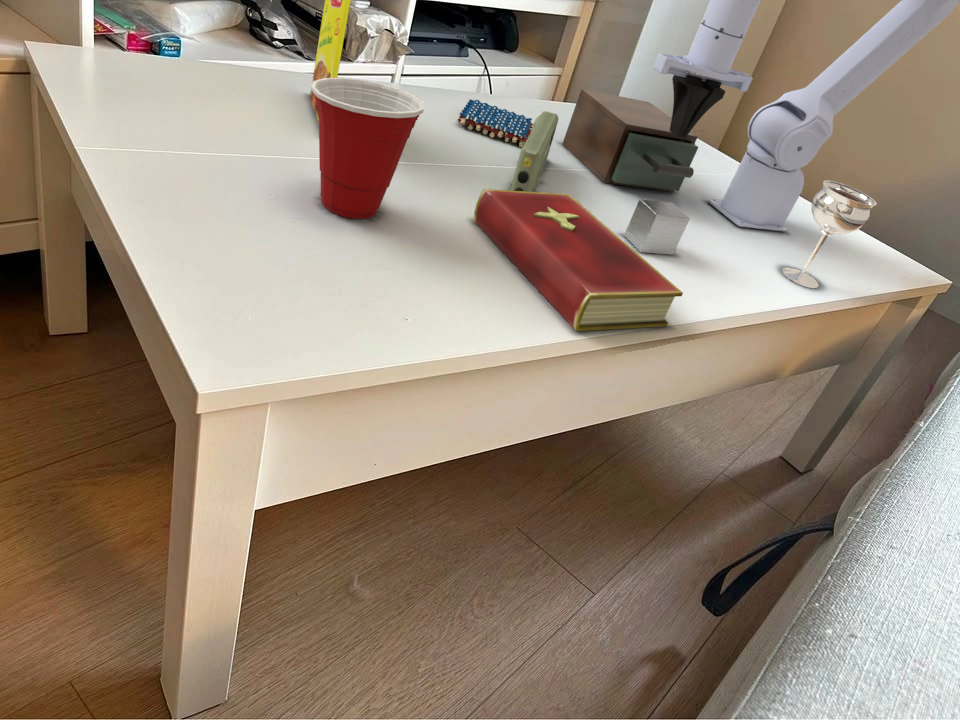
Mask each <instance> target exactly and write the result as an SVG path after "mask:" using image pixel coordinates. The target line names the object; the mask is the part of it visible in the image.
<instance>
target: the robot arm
mask: <svg viewBox="0 0 960 720" xmlns="http://www.w3.org/2000/svg"><path fill="white" fill-rule="evenodd" d="M761 1H762V0H709V2H708V5H707V7H706V9H705V12H704V14H703V17H702V19H701V21H700V23H699V26H698V29H697V31H696V33H695V35H694V38H693V41H692V43H691V44H690V48H689V50H688V53H687V54H685V55H684V56H683V55H674V54H666V53H661V52H659V53H657V57H656V58H655V61H654V64H653V66H652V69H654V70H655V71H657V72H658V73H659V74H663V75H667V74H668V75H673V76H672V78H671V80H672V88H673V105H672V113H671V118H672V120H671V125H670V131H671V132H672V133H674V134H675V135H676V136H680V137H681V136H682V137H686V136H687V135H688V134H689V132H692V130H693V129H694V127H695V126H696V125H697V123H698V122H699V121H700V120H701V118H702V117H703V116H704V115H705V114H706V113H707V112H708V111H709V110H710V109H711V108H712V107H713V106H715V105H716V104H717V103H718V102H720V101H721V100H723V98H724V96H725V94H726V90H725V89H723V88H722V86H724V87H728V88H732V89H737V90H739V91H740V92H745V93H746V92H747V91H748V90H749V87H750V85H751V83H752V81H753V79H754V78H753V76H751V75H749V74H747V73H745V72H743V71H739V70H736V69H732V66H733V64H734V61H735V58H736V57H737V54H738V52H739V50H740V48H741V46H742V44H743V41H744V40H745V37H746V35H747V33H748V30H749V28H750V25H751V23H752V21H753V19H754V17H755V15H756V12H757V10H758V8H759V6H760V3H761ZM959 1H960V0H900V1H899V2H898V3H897V4H896V5H895V6H894V7H893V8H891V9H890V10H889V11H888V12H887V13H886V14H884V16H882V17H881V19H880V20H878V21H877V22H876V23H875V24H874V25H873V26H872V27H870V29H869V30H867V31H866V32H865V33H864V34H863V35H862V36H861V37H859V39H857V40H856V41H855V42H854V43H853V44H852V45H851V46H849V48H847V49H846V51H844V52H843V53H842V54H841V55H840V56H838V58H836V59H835V60H834V61H833V62H832V63H831V64H830V65H829V66H827V68H825V69H824V70H823V71H822V72H820V73H819V74H818V76H817V77H815V79H813V80H812V81H811V82H810V83H808V85H806V86H805V87H803V88H800V89H795V90H791V91H788V92H784V93H783V94H782V96H780V97H779V98H778V99H776V100H775V101H773V102H770V103H768V104H765V105H763V106H762V107H760V108H759V109H757V110H756V111H755V113H753V115H752V117H751V118H750V119H749V122H748V125H747V137H748V139H749V141H748V143H747V146H746V148H747V149H746V150H745V153H744V155H743V157H742V159H741V161H740V163H739V165H738V167H737V170H735V173H734V176H733V178H732V180H731V182H730V184H729V186H728V188H727V190H726V192H725V194H724V195H723V197H722V199H717V198H709V199H707V202H708V203H709V204H710V205H711V206H712V207H714V208H715V209H716V210H717V211H718V212H720V213H721V214H722V215H724V216H725V217H726V218H727V219H728V220H730V221H731V222H732V223H734V224H735V225H736V226H738V227H741V228H748V229H749V228H751V229H759V230H767V231H777V232H778V231H779V232H786V230H787V228H786V226H784V225H785V223H786V221H787V219H788V217H789V216H790V214H791V212H792V210H793V209H794V207H795V205H796V203H797V201H798V199H799V198H800V195H801V194H802V191H803V189H804V184H805V175H804V173H803V171H802V168H803V167H805V166H807V165H808V164H810V163H811V162H812V161H813V160H814V159H815V158H816V156H817V155H818V153H819V150H821V147H822V146H823V144H825V142H826V141H828V140H829V139H830V138H831V137H832V136H833V131H834V117H835V116H836V115H837V114H838V113H840V111H842V110H843V109H844V108H845V107H846V106H848V104H850V103H851V102H852V101H853V100H854V99H855V98H857V97H858V96H859V95H860V94H861V93H862V92H864V91H865V90H866V89H867V88H868V87H869V86H870V85H871V84H873V83H874V81H876V80H877V79H878V78H879V77H881V76H882V75H883V74H884V73H885V72H886V71H887V70H888V69H890V68H891V67H892V66H893V65H894V64H896V63H897V62H898V60H900V59H901V58H902V57H903V56H904V55H905V54H906V53H907V52H909V51H910V50H911V49H912V48H913V47H914V46H915V45H917V44H918V43H920V41H922V39H924V38H925V37H926V36H927V35H928V34H929V33H931V31H933V30H934V29H935V28H936V27H937V26H939V24H941V23H943V21H944V20H945V19H946V18H948V16H949V15H950V14H951V13H953V11H954V9H955V8H956V6H957V5H958V3H959Z"/></svg>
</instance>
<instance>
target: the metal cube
mask: <svg viewBox="0 0 960 720" xmlns="http://www.w3.org/2000/svg"><path fill="white" fill-rule="evenodd" d="M690 219H691V218H690V216H688V215H687V214H686V213H685V212H684V211H682V210H681V209H680V208H679V207H678V206H677V205H676V204H674V203H673V202H668V201H660V200H651V199H643V198H639V200H638V202H637V204H636V206H635V208H634V211H633V213H632V216H631V219H630V221H629V223H628V225H627V228H626V230H625V232H624V234H623V236H624V238H626V239H627V241H629V242H630V243H631V245H633V247H635V249H636V250H638V252H639V253H646V254H647V253H648V254H659V255H672V256H673V255H674V254H675V251H676V249H677V247H678V245H679V243H680V241H681V239H682V237H683V235H684V232H685V230H686V228H687V226H688V224H689V222H690Z"/></svg>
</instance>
